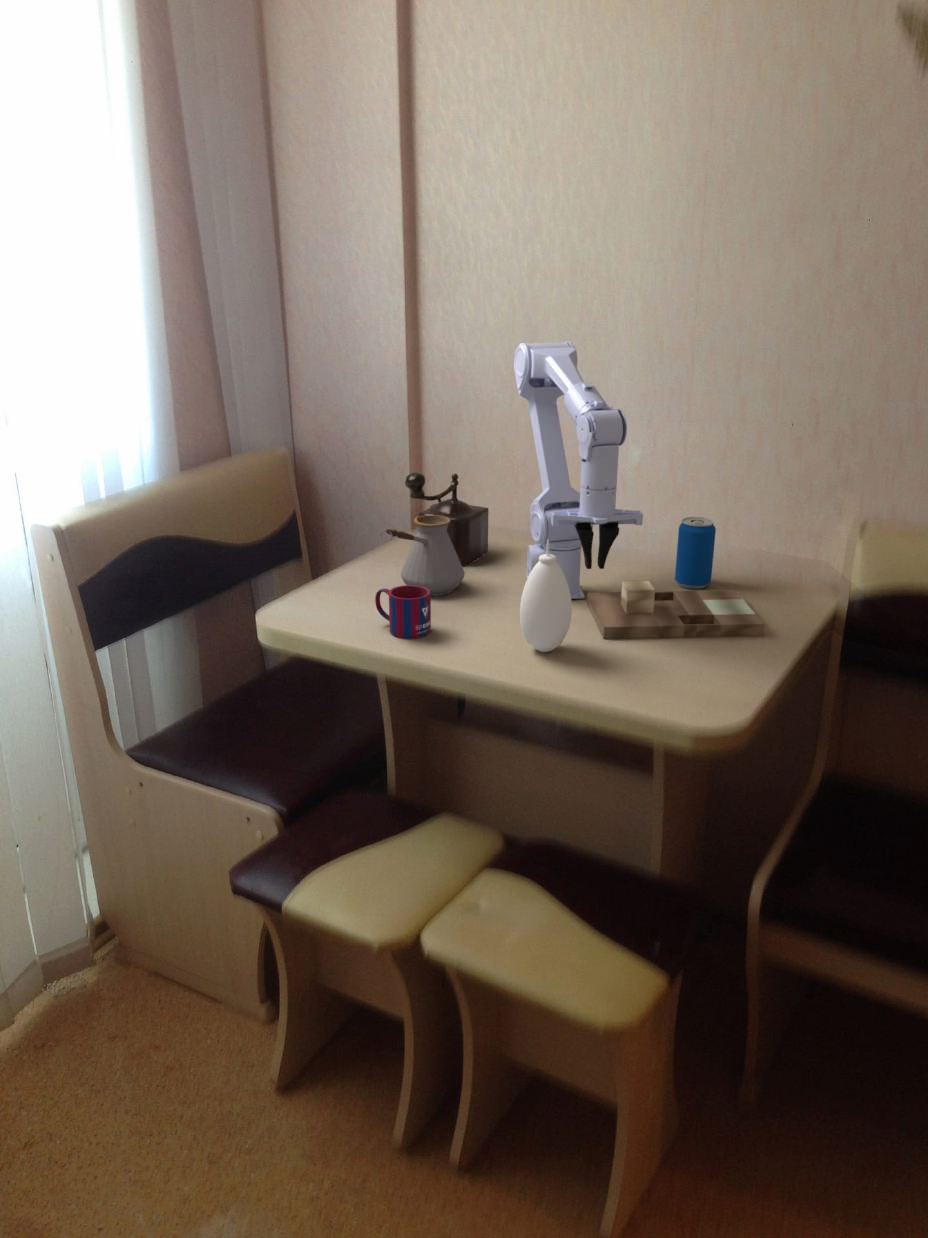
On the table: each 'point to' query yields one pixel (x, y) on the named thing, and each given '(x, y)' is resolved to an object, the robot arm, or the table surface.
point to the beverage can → (695, 552)
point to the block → (637, 597)
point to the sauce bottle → (546, 604)
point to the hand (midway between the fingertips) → (594, 567)
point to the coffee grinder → (456, 518)
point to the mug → (407, 611)
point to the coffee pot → (431, 556)
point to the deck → (676, 615)
